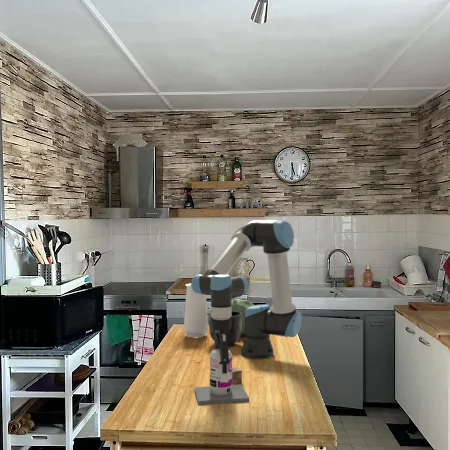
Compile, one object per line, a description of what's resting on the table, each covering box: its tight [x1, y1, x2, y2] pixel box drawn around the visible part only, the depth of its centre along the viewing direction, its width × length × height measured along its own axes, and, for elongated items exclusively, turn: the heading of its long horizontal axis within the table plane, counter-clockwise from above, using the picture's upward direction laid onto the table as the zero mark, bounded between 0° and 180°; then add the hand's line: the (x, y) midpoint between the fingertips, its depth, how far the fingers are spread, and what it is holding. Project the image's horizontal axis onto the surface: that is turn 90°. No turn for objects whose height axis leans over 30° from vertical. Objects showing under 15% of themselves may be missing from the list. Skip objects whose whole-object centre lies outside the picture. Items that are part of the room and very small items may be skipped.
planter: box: [208, 311, 243, 348], centre depth 253 cm, size 17×17×16 cm
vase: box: [183, 282, 209, 338], centre depth 271 cm, size 13×13×28 cm
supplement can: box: [209, 349, 233, 396], centre depth 182 cm, size 8×8×15 cm
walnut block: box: [232, 366, 243, 385], centre depth 197 cm, size 5×5×5 cm
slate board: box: [194, 384, 250, 405], centre depth 182 cm, size 18×14×1 cm
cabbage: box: [231, 298, 255, 336], centre depth 274 cm, size 16×19×20 cm
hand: (221, 375), depth 182 cm, fingers open, 13 cm apart
